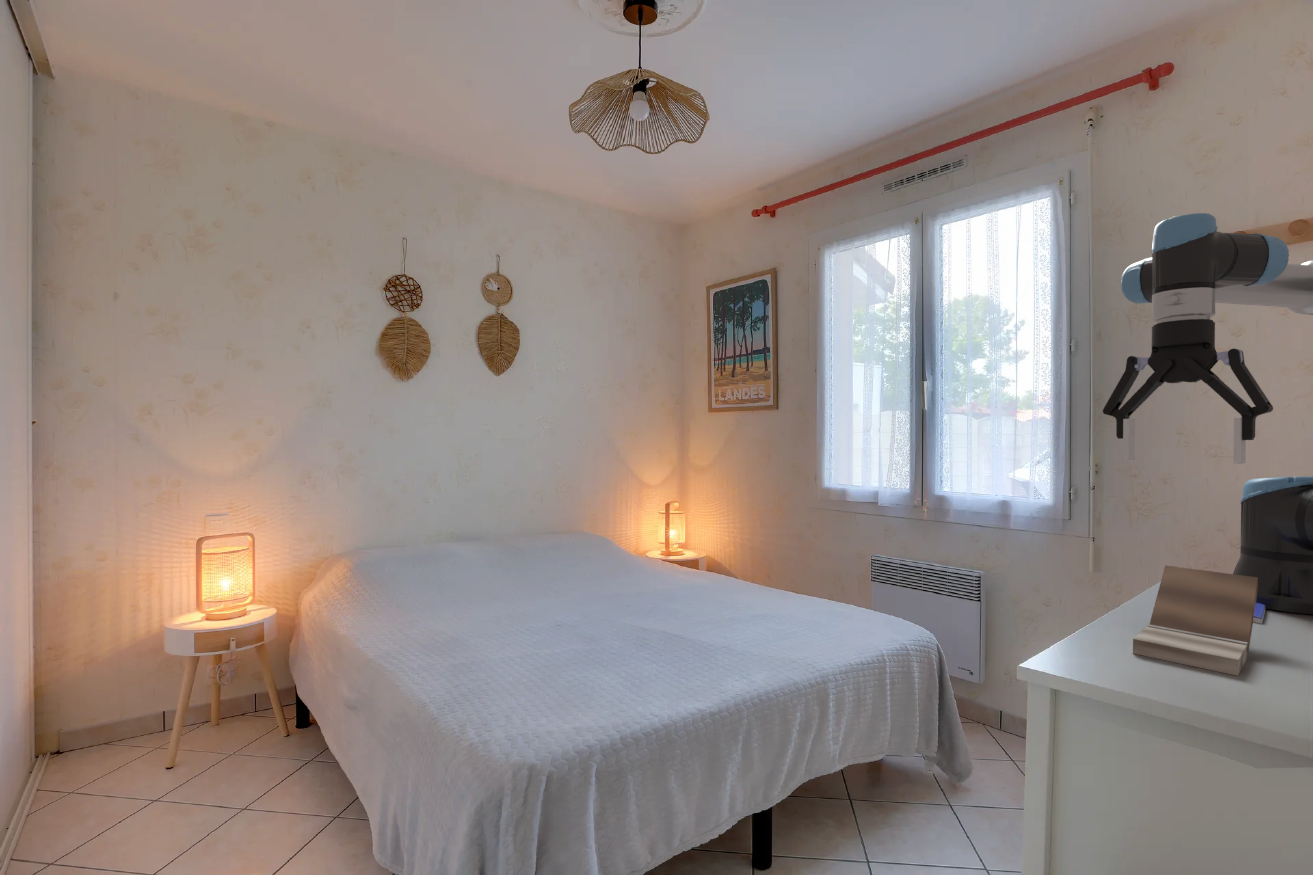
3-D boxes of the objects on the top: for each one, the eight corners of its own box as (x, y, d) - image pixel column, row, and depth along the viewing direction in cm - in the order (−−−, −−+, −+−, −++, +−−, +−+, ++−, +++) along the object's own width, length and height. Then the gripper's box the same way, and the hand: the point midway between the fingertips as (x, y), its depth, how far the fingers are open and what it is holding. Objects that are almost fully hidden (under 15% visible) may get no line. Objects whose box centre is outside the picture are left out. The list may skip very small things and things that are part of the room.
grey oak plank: (1238, 675, 84) (1238, 658, 84) (1132, 653, 92) (1133, 637, 92) (1247, 657, 91) (1247, 642, 91) (1148, 638, 99) (1148, 624, 99)
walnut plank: (1248, 652, 92) (1248, 642, 91) (1150, 633, 100) (1149, 624, 99) (1258, 586, 99) (1257, 577, 98) (1166, 574, 107) (1165, 565, 106)
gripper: (1080, 328, 109) (1079, 459, 109) (1289, 306, 89) (1287, 466, 89) (1099, 332, 113) (1098, 457, 113) (1301, 312, 93) (1299, 464, 93)
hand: (1181, 461), depth 101 cm, fingers open, 13 cm apart
